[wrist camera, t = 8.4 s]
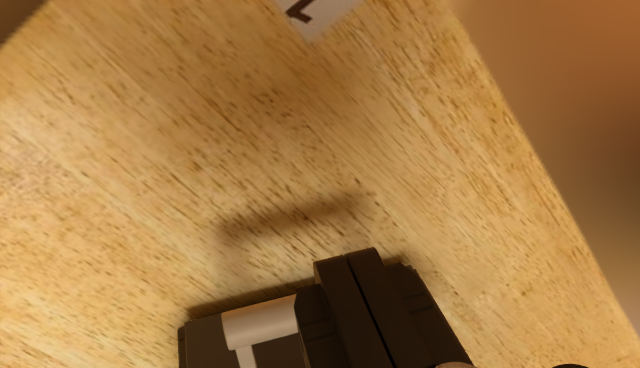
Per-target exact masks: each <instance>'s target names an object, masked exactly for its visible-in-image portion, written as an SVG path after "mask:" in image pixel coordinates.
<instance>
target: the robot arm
mask: <svg viewBox="0 0 640 368" xmlns="http://www.w3.org/2000/svg"><path fill="white" fill-rule="evenodd" d="M313 269H314V275H315V282H316V284H315V285H311V286H307V287H303V288H299V289H297V294H296V298H295V302H294V313H295V318H296V323H297V329H298V334H299V340H300V345H301V350H302V354H303V357H304V361H305V365H306V368H477V367H475V366H473V365H471V364H470V363H469V361H468V360H467V359H466V357H465V356H464V354H463V352H462V351H461V349H460V347H459V346H458V344H457V342H456V341H455V339H454V337H453V335H452V334H451V332H450V330H449V329H448V327H447V325H446V323H445V322H444V320H443V318H442V317H441V315H440V313H439V312H438V310H437V308H435V306H434V303H433V301H432V300H431V298H430V296H429V294H427V291H426V289H425V288H424V286H423V284H422V282H421V281H420V279H419V277H418V276H417V274H415V273H414V272H412V271H411V270H410V269H408V268H407V267H406V266H404V265H403V264H402V263H397V264H393V265H389V266H385V265H384V263H383V262H382V260H381V258H380V256H379V254H378V252H377V250H376V249H375V248H374V247H371V248H367V249H363V250H359V251H355V252H351V253H347V254H344V256H343V255H339V256H335V257H331V258H327V259H323V260H319V261H315V262H313ZM553 368H588V367H585V366H581V365H576V364H563V365H558V366H555V367H553Z"/></svg>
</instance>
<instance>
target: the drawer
mask: <svg viewBox="0 0 640 368" xmlns="http://www.w3.org/2000/svg"><path fill="white" fill-rule="evenodd" d="M406 267H407V268H408V269H410V270H411V271H412V272H414V273H415V271H414V270H413V268H412V266H411V265H408V266H406ZM415 274H416V273H415ZM427 294H428V293H427ZM295 298H296V294H294V295H290V296H286V297H282V298H278V299H274V300H270V301H266V302H262V303H258V304H254V305H250V306H246V307H242V308H239V309H235V310H231V311H227V312H223V313H219V314H215V315H211V316H207V317H203V318H199V319H195V320H191V321H187V322H185V342H186V361H187V368H306V365H305V361H304V357H303V354H302V350H301V345H300V340H299V334H298V329H297V323H296V318H295V313H294V302H295ZM434 306H435V305H434ZM435 308H436V306H435ZM438 312H439V311H438ZM441 317H442V316H441ZM444 322H445V321H444ZM447 327H448V326H447ZM448 329H449V328H448ZM450 332H451V331H450ZM451 334H452V333H451ZM453 337H454V336H453ZM454 339H455V338H454ZM455 341H456V340H455ZM456 342H457V341H456ZM457 344H458V343H457ZM458 346H459V345H458ZM459 347H460V346H459ZM460 349H461V348H460ZM461 351H462V350H461ZM462 352H463V351H462ZM463 354H464V353H463ZM464 356H465V355H464ZM465 357H466V356H465ZM466 359H467V358H466Z"/></svg>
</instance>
